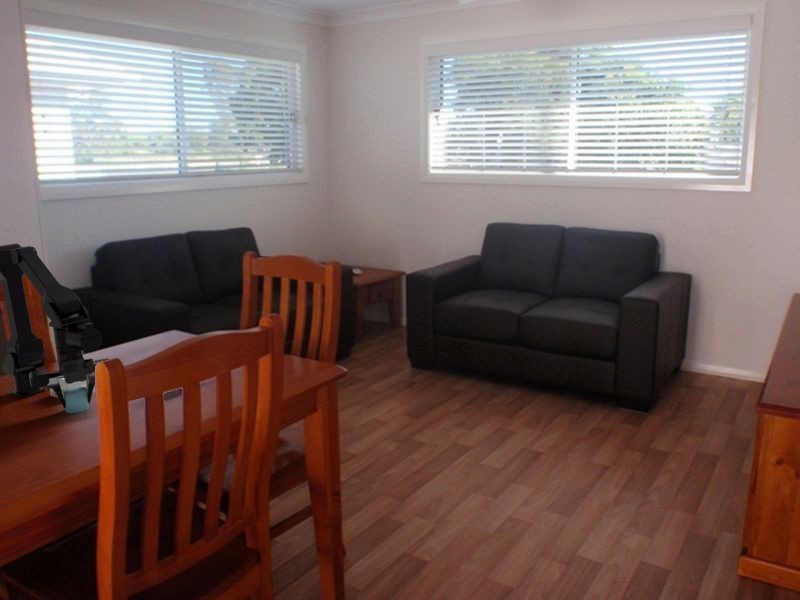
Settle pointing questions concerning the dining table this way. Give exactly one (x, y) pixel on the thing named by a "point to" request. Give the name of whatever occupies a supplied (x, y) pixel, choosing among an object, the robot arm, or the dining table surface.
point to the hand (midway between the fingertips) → (76, 405)
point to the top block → (67, 386)
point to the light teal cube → (76, 399)
